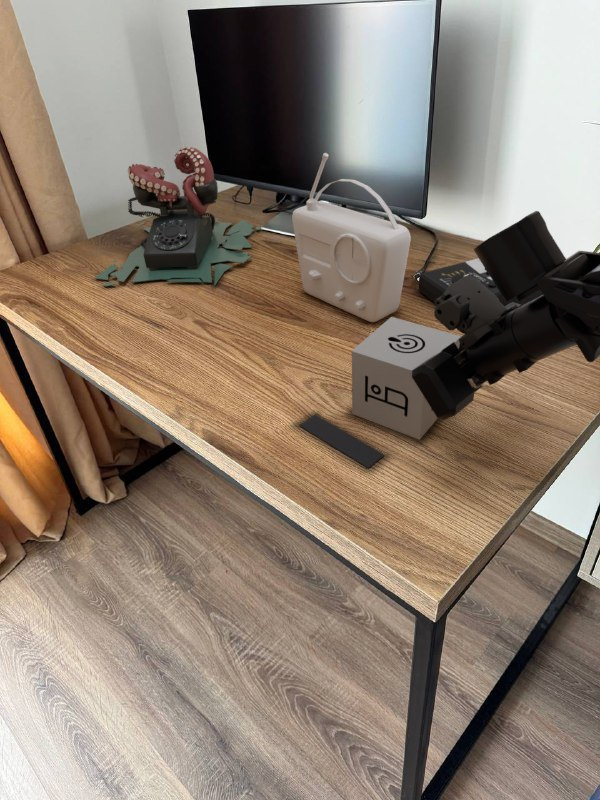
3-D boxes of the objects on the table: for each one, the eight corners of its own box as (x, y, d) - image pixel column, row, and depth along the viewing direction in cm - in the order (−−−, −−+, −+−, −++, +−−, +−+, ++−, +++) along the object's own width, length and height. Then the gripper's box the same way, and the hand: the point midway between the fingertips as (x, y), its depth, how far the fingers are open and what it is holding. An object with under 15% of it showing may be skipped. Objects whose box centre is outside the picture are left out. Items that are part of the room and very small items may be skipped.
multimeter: (416, 292, 106) (418, 266, 103) (503, 268, 111) (507, 243, 108) (460, 323, 96) (463, 296, 93) (553, 296, 101) (559, 269, 98)
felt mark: (384, 456, 72) (384, 454, 72) (368, 468, 70) (368, 467, 70) (315, 415, 79) (314, 414, 79) (299, 426, 78) (299, 425, 77)
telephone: (137, 224, 143) (117, 136, 131) (265, 220, 140) (256, 129, 128) (86, 289, 115) (55, 185, 103) (244, 285, 112) (231, 178, 100)
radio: (288, 292, 109) (277, 151, 94) (321, 277, 113) (315, 140, 98) (376, 333, 95) (379, 175, 80) (409, 315, 99) (418, 161, 84)
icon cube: (352, 413, 79) (351, 351, 73) (389, 377, 85) (391, 316, 79) (419, 439, 74) (424, 374, 68) (453, 399, 80) (461, 336, 74)
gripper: (536, 236, 64) (442, 297, 77) (434, 298, 54) (347, 356, 67) (589, 323, 64) (486, 369, 77) (498, 400, 54) (398, 438, 67)
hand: (432, 380), depth 72 cm, fingers closed, pressing on icon cube
